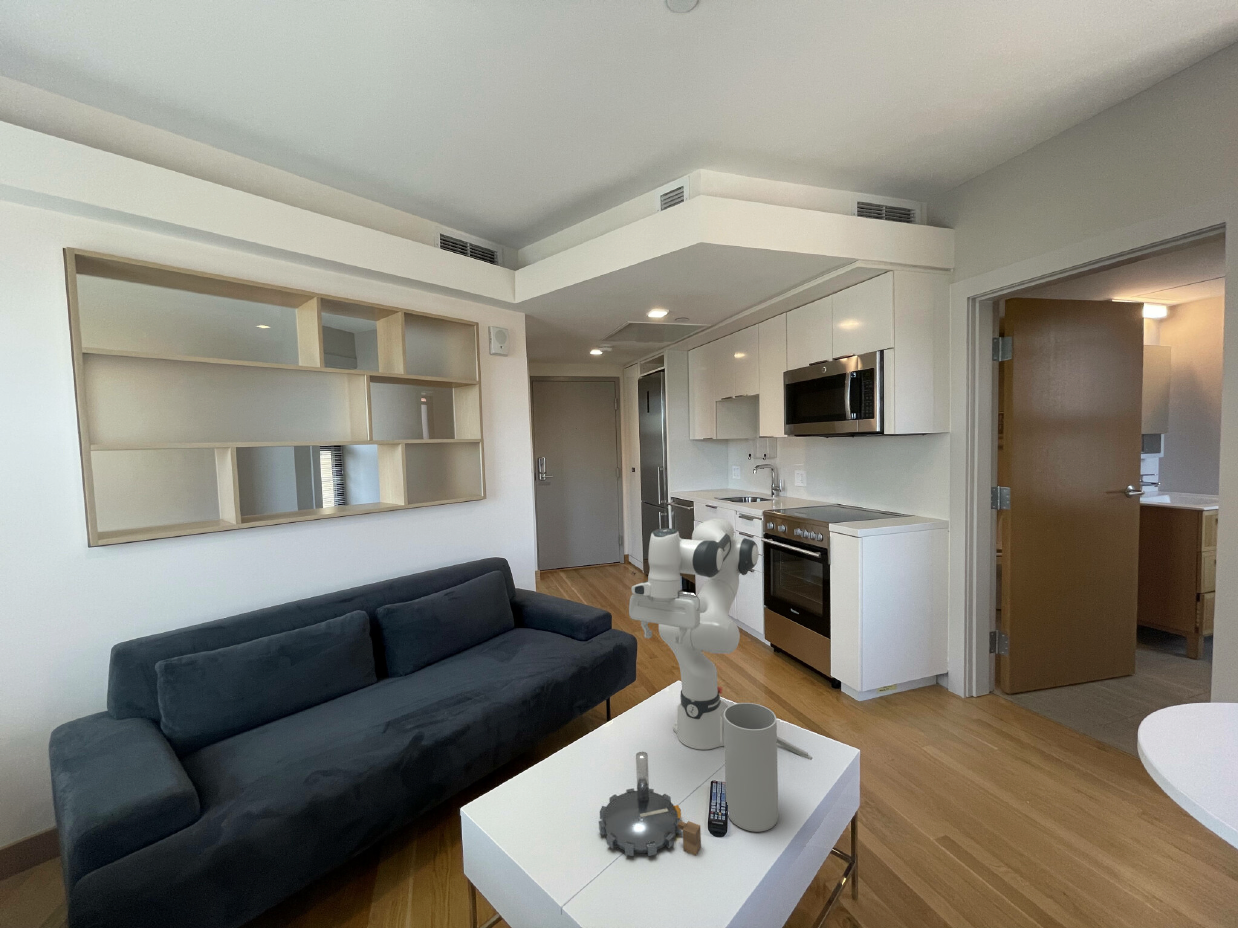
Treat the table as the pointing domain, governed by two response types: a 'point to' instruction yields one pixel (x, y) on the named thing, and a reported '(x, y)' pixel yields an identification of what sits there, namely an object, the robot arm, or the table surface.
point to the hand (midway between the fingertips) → (663, 640)
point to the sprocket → (640, 817)
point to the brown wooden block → (690, 837)
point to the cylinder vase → (751, 766)
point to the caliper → (793, 748)
